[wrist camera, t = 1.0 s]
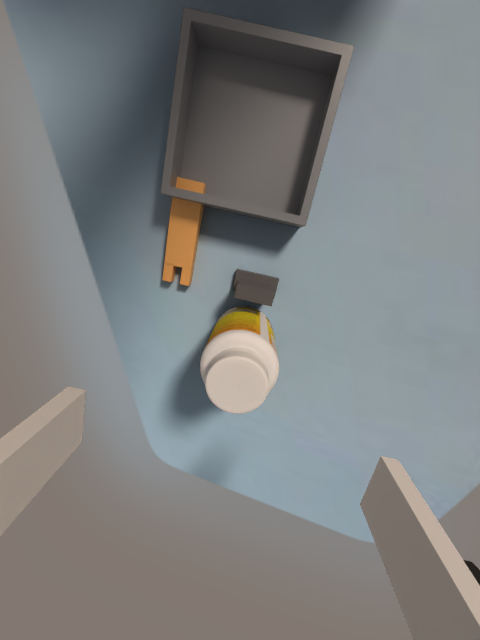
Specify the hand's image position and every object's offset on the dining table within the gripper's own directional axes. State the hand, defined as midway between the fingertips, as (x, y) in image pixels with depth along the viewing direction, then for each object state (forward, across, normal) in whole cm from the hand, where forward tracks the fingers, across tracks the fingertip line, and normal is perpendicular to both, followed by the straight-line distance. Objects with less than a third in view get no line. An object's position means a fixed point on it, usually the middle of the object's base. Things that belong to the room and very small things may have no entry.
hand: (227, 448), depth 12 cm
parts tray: (+15, -3, +16) cm, 22 cm away
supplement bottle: (+16, 0, 0) cm, 16 cm away
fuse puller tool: (+16, -7, +9) cm, 19 cm away
